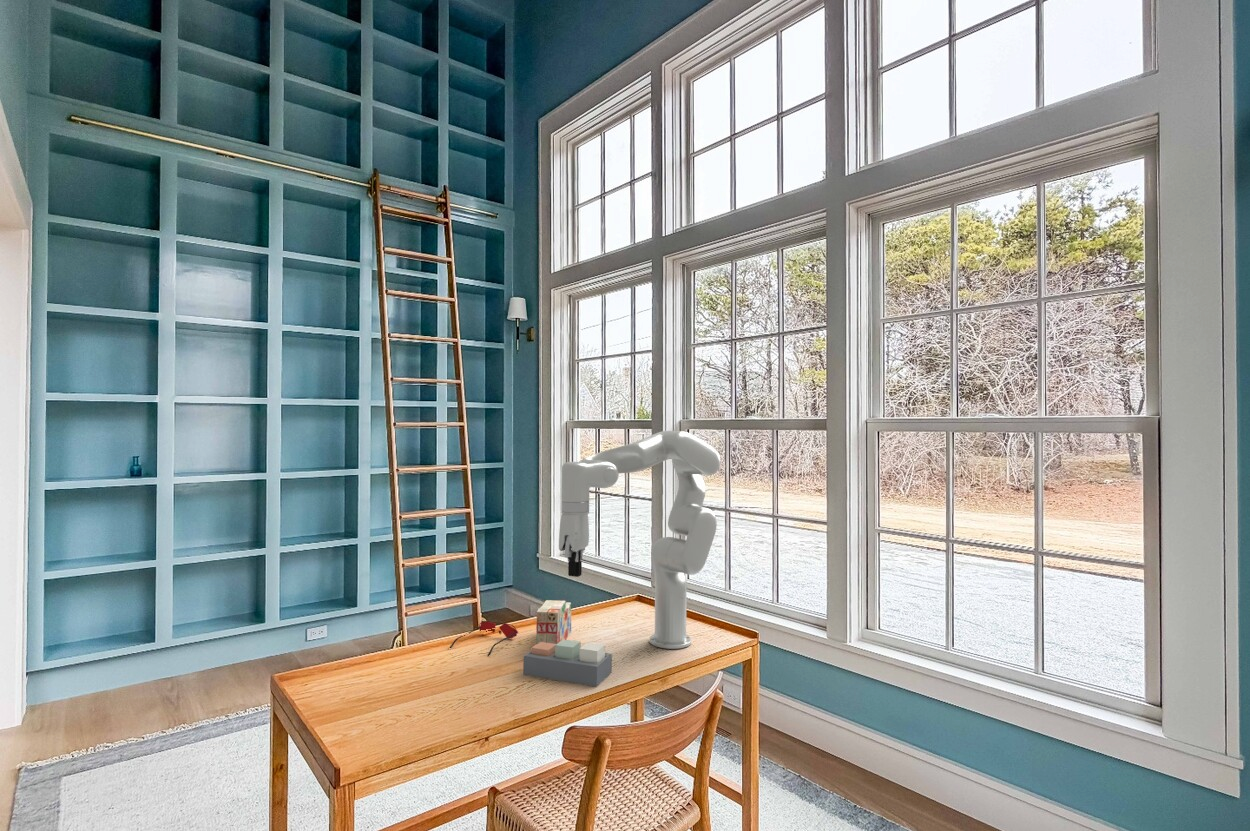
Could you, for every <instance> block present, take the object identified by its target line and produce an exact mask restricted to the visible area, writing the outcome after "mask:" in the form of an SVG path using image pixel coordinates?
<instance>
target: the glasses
mask: <svg viewBox="0 0 1250 831" xmlns="http://www.w3.org/2000/svg"><path fill="white" fill-rule="evenodd" d="M497 624H501V625H500V626H499V627H498V629H500V630H498V633H499V635H501V634H502V633H503V635H504V636H505V638H503V639H501V640H500V641H497V642H495V643H494V644H493V645H492V647H491V649H489V652H488V654H487V657H490V656H491V654H492V652H493V650H494V648H495V646H496V645H498V644H500V643H502V642H503V641H505V640H507V638H511V639H513V638H515V637H517V635H518V633H519V631H518V630H517V629H516V627H515V626H514V625H513V624H509V623H506V622H503V623H502V622H495V621H489V620H488V621H487V620H481V621H480V623H479V624H478V625H479V627H476V628H475V629H472V630H471V631H469V632H467V633H469V634H472V633H473V632H475V631H478V630H479V632H480V631H481V630H486V629H491V630H488V631H493V632H491V633H493V634H494V633H495V631H496V625H497ZM492 628H495V629H492ZM486 632H487V631H486ZM467 633H465V634H467ZM491 633H490V634H491ZM463 635H464V634H463ZM467 635H468V634H467ZM465 636H466V635H464V636H462V635H460V636H459V637H456V638H455V639H454V640H453V642H452V643H451V645H450V646H449V648H451V649H452V648H453V647H454V645H455V644H456V642H457V641H458V640H459V639H461V638H463V637H465ZM489 655H490V656H489Z"/></svg>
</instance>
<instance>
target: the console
mask: <svg viewBox="0 0 1250 831" xmlns="http://www.w3.org/2000/svg"><path fill="white" fill-rule="evenodd" d="M522 661H523V663H522V664H523V668H522V669H523V670H522V672H523V674H522V675H524V676H528V677H529V676H530V677H536V678H540V679H548V680H553V681H560V682H566V683H572V684H577V685H583V686H591V687H597V688H598V687H599V686H600V685H601V683H603V681H605V680H607V678H608V677H609V676H610V675H611V674H613V653H608V652H605V658H604V659H603V660H602V661H601V662H599V663H591V662H584V661H580V655H579V656H578V657H576V658H575V659H574V660H571V659H564V658H557V657H555V652H554V653H553V654H552V655H550V656H543V655H537V654H532V649H531V650H530V651H528V652H527V653H526V654H524V655H523V660H522Z"/></svg>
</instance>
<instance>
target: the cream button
mask: <svg viewBox="0 0 1250 831" xmlns="http://www.w3.org/2000/svg"><path fill="white" fill-rule="evenodd" d="M605 647H606V645H605V644H599V643H594V642H586V643H585V644H584V645H581V648H580V661H584V662H591V663H599V662H601V661H602V660H603V659H604V658H605V653H606V648H605Z"/></svg>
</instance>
